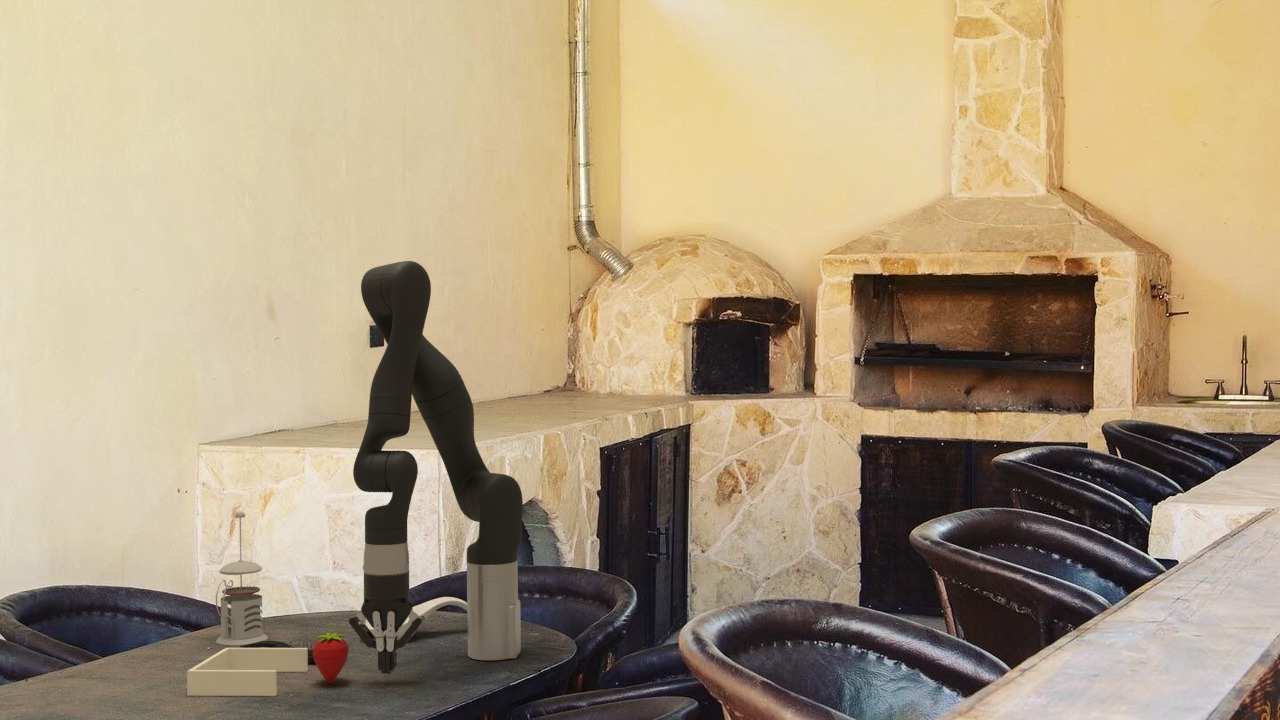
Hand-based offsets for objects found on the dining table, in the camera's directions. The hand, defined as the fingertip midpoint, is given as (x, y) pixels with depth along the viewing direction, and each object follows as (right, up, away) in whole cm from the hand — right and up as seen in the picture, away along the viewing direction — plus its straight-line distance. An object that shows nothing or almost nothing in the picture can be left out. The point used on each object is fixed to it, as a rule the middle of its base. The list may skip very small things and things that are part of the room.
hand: (387, 672), depth 218 cm
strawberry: (-10, -2, +1) cm, 10 cm away
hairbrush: (-22, -3, +21) cm, 31 cm away
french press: (-35, -2, +34) cm, 49 cm away
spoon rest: (-1, -2, +37) cm, 37 cm away
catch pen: (-24, -2, +1) cm, 24 cm away
